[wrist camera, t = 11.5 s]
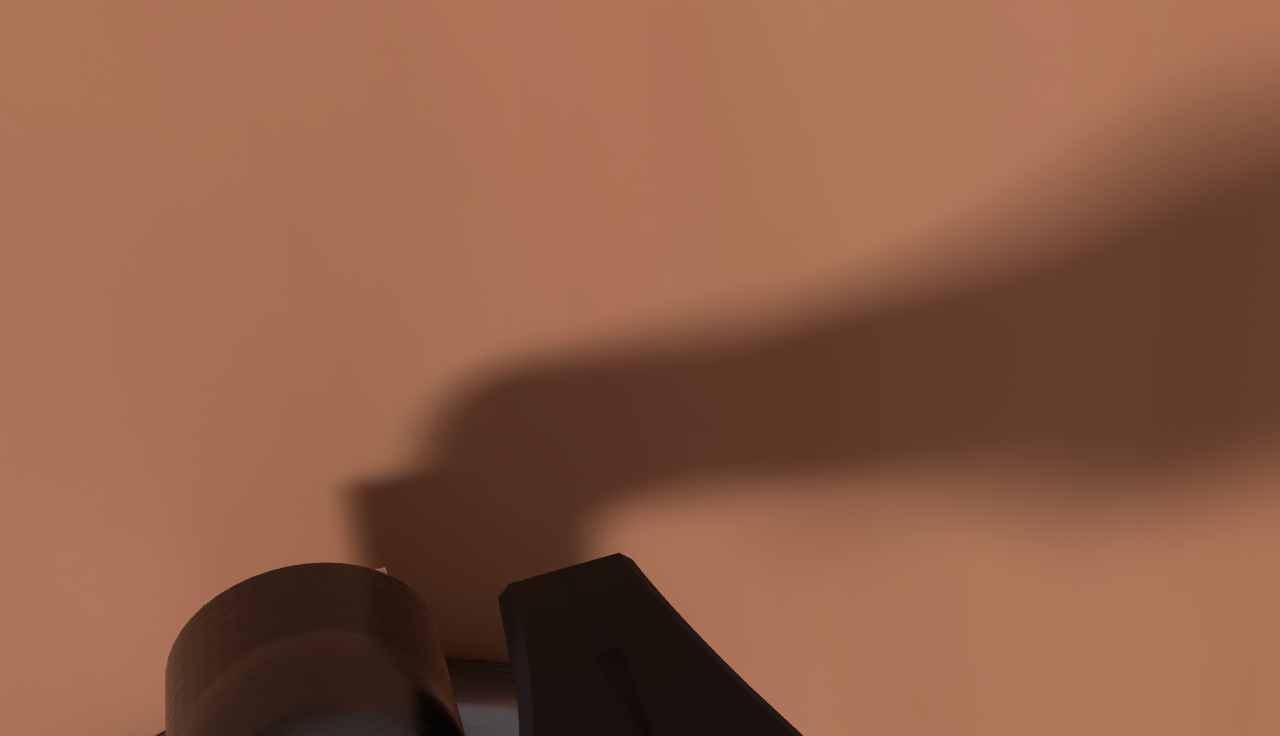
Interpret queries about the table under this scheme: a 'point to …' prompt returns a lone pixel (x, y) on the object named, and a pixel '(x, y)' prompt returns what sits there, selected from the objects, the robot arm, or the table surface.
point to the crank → (311, 659)
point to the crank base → (484, 697)
